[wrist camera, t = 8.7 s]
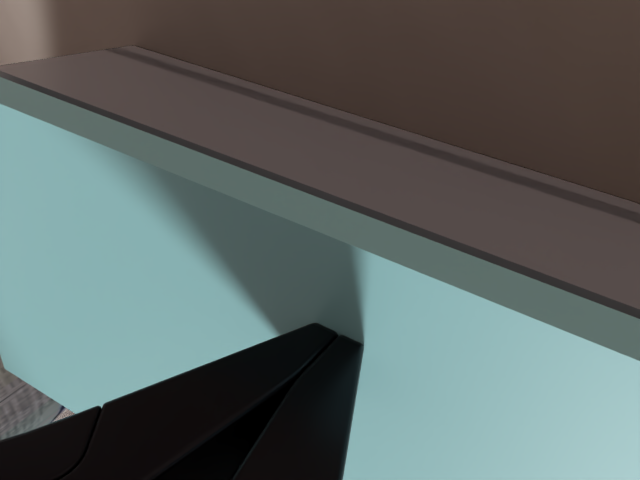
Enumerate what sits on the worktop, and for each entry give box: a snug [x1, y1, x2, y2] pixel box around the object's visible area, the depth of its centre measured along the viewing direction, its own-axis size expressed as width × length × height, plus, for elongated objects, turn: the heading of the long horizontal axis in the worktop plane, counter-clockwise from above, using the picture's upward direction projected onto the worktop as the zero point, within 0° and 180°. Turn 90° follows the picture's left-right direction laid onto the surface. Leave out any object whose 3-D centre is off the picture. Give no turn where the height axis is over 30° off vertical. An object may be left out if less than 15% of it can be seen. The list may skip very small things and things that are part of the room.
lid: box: [0, 77, 640, 480], centre depth 10 cm, size 8×18×1 cm, turn 82°
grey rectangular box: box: [0, 45, 640, 319], centre depth 12 cm, size 8×18×4 cm, turn 81°
